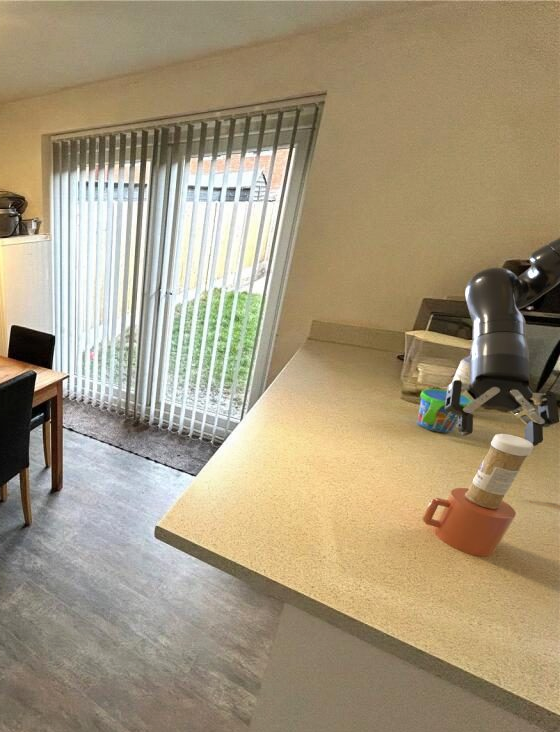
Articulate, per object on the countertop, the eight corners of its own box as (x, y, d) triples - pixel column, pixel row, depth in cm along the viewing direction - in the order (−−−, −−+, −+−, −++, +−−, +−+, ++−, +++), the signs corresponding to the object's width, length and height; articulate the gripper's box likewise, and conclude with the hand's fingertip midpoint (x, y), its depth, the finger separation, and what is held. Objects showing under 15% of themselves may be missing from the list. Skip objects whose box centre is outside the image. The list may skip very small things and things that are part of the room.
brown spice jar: (461, 490, 75) (491, 430, 70) (495, 499, 73) (529, 437, 68) (467, 504, 72) (499, 441, 67) (502, 513, 69) (539, 449, 64)
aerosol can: (470, 418, 119) (499, 356, 111) (439, 411, 123) (465, 351, 116) (471, 411, 123) (499, 351, 115) (442, 404, 128) (466, 346, 120)
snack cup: (426, 414, 122) (438, 384, 118) (470, 429, 113) (485, 397, 109) (397, 425, 116) (408, 394, 112) (441, 442, 107) (456, 409, 103)
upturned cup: (483, 532, 77) (503, 496, 74) (502, 563, 71) (525, 524, 67) (413, 514, 82) (428, 479, 79) (424, 541, 75) (442, 504, 72)
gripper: (459, 347, 76) (457, 424, 71) (567, 357, 69) (572, 443, 65) (440, 364, 82) (437, 436, 78) (537, 375, 76) (540, 454, 71)
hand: (498, 439), depth 71 cm, fingers open, 8 cm apart
